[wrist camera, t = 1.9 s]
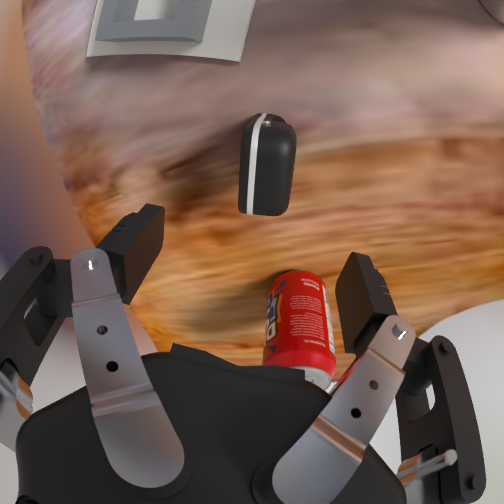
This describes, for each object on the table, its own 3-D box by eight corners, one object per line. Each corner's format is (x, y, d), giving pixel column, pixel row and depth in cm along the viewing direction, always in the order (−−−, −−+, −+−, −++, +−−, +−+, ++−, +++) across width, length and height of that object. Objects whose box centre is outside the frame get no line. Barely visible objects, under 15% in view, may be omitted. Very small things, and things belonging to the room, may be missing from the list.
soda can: (337, 288, 38) (352, 383, 25) (296, 316, 41) (296, 407, 29) (298, 255, 35) (302, 355, 23) (257, 289, 39) (244, 384, 27)
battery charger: (287, 177, 30) (288, 229, 20) (251, 173, 30) (236, 223, 21) (294, 114, 26) (301, 133, 16) (256, 110, 26) (241, 127, 17)
